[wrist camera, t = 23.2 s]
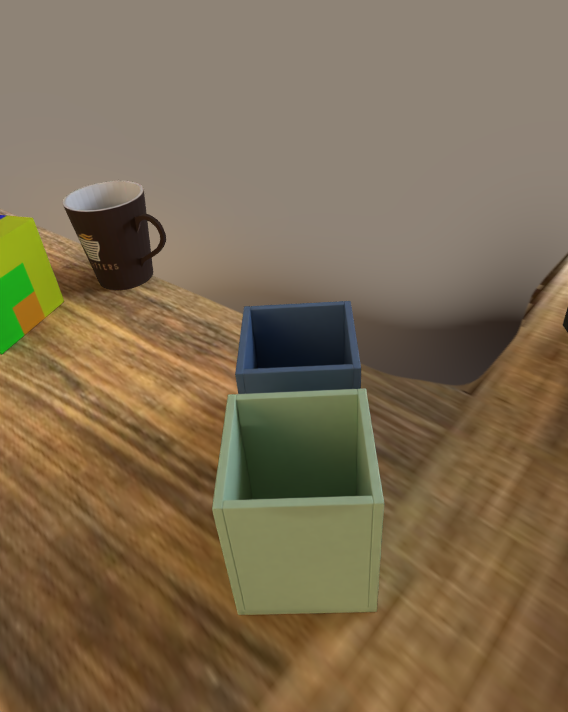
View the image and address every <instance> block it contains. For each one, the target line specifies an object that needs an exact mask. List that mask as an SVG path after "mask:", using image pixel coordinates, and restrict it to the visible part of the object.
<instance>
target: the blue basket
mask: <svg viewBox="0 0 568 712" xmlns="http://www.w3.org/2000/svg"><path fill="white" fill-rule="evenodd" d="M235 375H236V382H237V388H238V394H255V393H277V392H300V391H322V390H345V389H357V390H358V389H361V365H360V358H359V352H358V346H357V340H356V333H355V326H354V320H353V314H352V307H351V302H350V301H344V302H343V301H341V302H323V303H303V304H286V305H285V304H284V305H265V306H251V307H250V306H245V307H244V312H243V319H242V327H241V335H240V342H239V350H238V358H237V365H236V373H235Z"/></svg>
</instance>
